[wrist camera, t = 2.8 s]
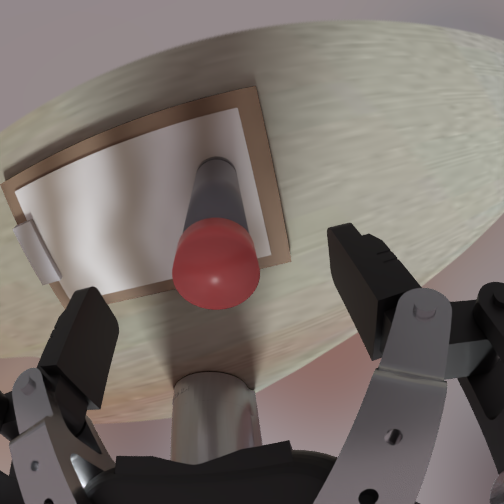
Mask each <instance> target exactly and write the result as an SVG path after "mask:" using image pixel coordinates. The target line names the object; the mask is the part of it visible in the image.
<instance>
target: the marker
mask: <svg viewBox="0 0 504 504" xmlns="http://www.w3.org/2000/svg"><path fill="white" fill-rule="evenodd" d="M172 278H173V282H174V285H175V287H176V289H177V291H178V292H179V293H180V295H181V296H182V297H183V298H184V299H186V300H187V301H188V302H190V303H192V304H193V305H196V306H198V307H201V308H205V309H212V310H220V309H227V308H231V307H234V306H236V305H238V304H240V303H242V302H244V301H245V300H246V299H248V298H249V297H250V296H251V295H252V293H253V292H254V291H255V289H256V287H257V285H258V282H259V278H260V269H259V264H258V259H257V255H256V250H255V246H254V242H253V240H252V237H251V236H250V234H249V230H248V225H247V221H246V216H245V211H244V206H243V201H242V197H241V192H240V187H239V182H238V177H237V173H236V169H235V167H234V165H233V164H232V163H231V162H230V161H229V160H228V159H226V158H223V157H218V156H215V157H210V158H208V159H206V160H204V161H203V162H202V163H201V164H200V165H199V167H198V169H197V173H196V177H195V181H194V185H193V189H192V193H191V197H190V202H189V206H188V211H187V215H186V220H185V224H184V229H183V233H182V235H181V237H180V239H179V241H178V245H177V249H176V254H175V258H174V263H173V268H172Z"/></svg>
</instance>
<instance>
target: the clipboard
mask: <svg viewBox="0 0 504 504" xmlns="http://www.w3.org/2000/svg"><path fill="white" fill-rule="evenodd" d="M215 156H218V157H223V158H226V159H228V160H229V161H230V162H231V163H232V164H233V165H234V167H235V169H236V173H237V177H238V182H239V187H240V192H241V197H242V201H243V206H244V211H245V216H246V221H247V225H248V230H249V234H250V236H251V237H252V240H253V242H254V246H255V250H256V255H257V259H258V264H259V269H263V268H267V267H271V266H275V265H279V264H283V263H287V262H291V256H290V251H289V245H288V239H287V234H286V229H285V223H284V218H283V213H282V207H281V202H280V197H279V192H278V187H277V182H276V177H275V172H274V167H273V162H272V157H271V153H270V148H269V143H268V139H267V134H266V129H265V125H264V120H263V116H262V111H261V107H260V102H259V98H258V94H257V89H256V86H252V87H247V88H243V89H238V90H234V91H229V92H225V93H221V94H217V95H213V96H209V97H205V98H202V99H198V100H194V101H191V102H187V103H184V104H181V105H177V106H174V107H171V108H168V109H164V110H161V111H158V112H155V113H152V114H149V115H147V116H144V117H141V118H138V119H135V120H133V121H130V122H127V123H125V124H122V125H119V126H117V127H114V128H112V129H109V130H107V131H104V132H102V133H100V134H97V135H95V136H93V137H90V138H88V139H86V140H83V141H81V142H79V143H77V144H75V145H73V146H70V147H68V148H66V149H64V150H62V151H60V152H58V153H56V154H54V155H52V156H50V157H48V158H46V159H44V160H42V161H40V162H38V163H37V164H35V165H33V166H31V167H29V168H27V169H26V170H24V171H22V172H20V173H19V174H17V175H15V176H13V177H12V178H10V179H8V180H7V181H5V182H4V183H2V184H0V185H1V187H2V190H3V192H4V195H5V197H6V200H7V202H8V204H9V207H10V209H11V211H12V214H13V216H14V218H15V220H16V222H17V224H18V225H16V226H15V227H14V228H13V231H14V233H15V235H16V237H17V239H18V241H19V243H20V245H21V247H22V249H23V251H24V253H25V255H26V257H27V259H28V260H29V262H30V264H31V266H32V268H33V269H34V271H35V273H36V275H37V276H38V278H39V280H40V281H41V283H42V285H45V284H50V286H51V288H52V289H53V291H54V293H55V294H56V296H57V297H58V299H59V301H60V302H61V304H62V305H63V307H64V308H65V309H66V307H67V305H68V303H69V301H70V299H71V297H72V295H73V293H74V292H75V291H76V290H80V289H84V288H88V287H92V286H94V287H96V288H97V289H98V290H99V292H100V293H101V295H102V297H103V298H104V300H105V302H106V303H107V304H110V303H115V302H119V301H124V300H129V299H133V298H138V297H142V296H147V295H151V294H156V293H160V292H164V291H169V290H173V289H176V287H175V285H174V282H173V278H172V268H173V263H174V258H175V254H176V249H177V245H178V241H179V239H180V237H181V235H182V233H183V229H184V224H185V220H186V215H187V211H188V206H189V202H190V197H191V193H192V189H193V185H194V181H195V177H196V173H197V169H198V167H199V165H200V164H201V163H202V162H203V161H204V160H206V159H208V158H210V157H215Z"/></svg>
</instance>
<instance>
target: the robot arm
mask: <svg viewBox="0 0 504 504" xmlns="http://www.w3.org/2000/svg"><path fill="white" fill-rule="evenodd" d="M327 237H328V247H329V257H330V268H331V274H332V278H333V281H334V284H335V286H336V288H337V290H338V292H339V294H340V296H341V298H342V300H343V302H344V304H345V306H346V308H347V310H348V312H349V314H350V316H351V318H352V320H353V322H354V324H355V326H356V328H357V330H358V332H359V334H360V336H361V339H362V341H363V343H364V345H365V347H366V349H367V351H368V353H369V355H370V358H371V360H372V361H373V360H376V359H379V358H382V359H381V362H380V365H379V367H378V368H376V369H375V371H374V374H373V376H372V378H371V381H370V384H369V387H368V389H367V392H366V395H365V397H364V399H363V402H362V404H361V407H360V410H359V412H358V414H357V417H356V419H355V421H354V424H353V426H352V428H351V430H350V433H349V435H348V437H347V439H346V442H345V444H344V446H343V448H342V450H341V453H340V454H339V456H338V458H337V457H334V456H331V455H328V454H324V453H320V452H315V451H306V450H293V449H292V447H291V444H290V441H289V440H288V441H283V442H278V443H273V444H268V445H262V438H261V431H260V425H259V417H258V410H257V403H256V395H255V391H253V390H250V389H248V387H247V386H246V384H245V383H244V382H243V381H242V380H240V379H238V378H237V377H235V376H232V375H229V374H224V373H219V372H201V373H195V374H192V375H188V376H186V377H184V378H182V379H181V380H180V381H178V382H177V384H176V385H175V388H174V397H173V412H172V429H171V453H170V454H171V455H170V460H165V459H162V458H157V457H153V456H117V457H116V463H115V462H114V461H113V460H112V458H111V457H110V455H109V454H108V452H107V450H106V448H105V446H104V445H103V443H102V441H101V439H100V437H99V435H98V433H97V431H96V430H95V427H94V425H93V423H92V421H91V419H90V418H89V417H88V416H87V415H86V412H87V410H95V409H101V404H102V400H103V395H104V391H105V386H106V382H107V378H108V373H109V369H110V365H111V361H112V357H113V353H114V350H115V346H116V342H117V339H118V335H119V326H118V322H117V320H116V318H115V316H114V314H113V313H112V311H111V310H110V308H109V306H108V305H107V303H106V302H105V300H104V298H103V297H102V295H101V293H100V292H99V290H98V289H97V288H96V287H94V286H92V287H88V288H84V289H80V290H76V291H75V292H74V293H73V295H72V297H71V299H70V301H69V303H68V305H67V307H66V309H65V311H64V312H63V313H62V314H61V315H60V317H59V318H58V321H57V323H56V325H55V327H54V328H55V329H54V330H53V331H52V333H51V336H50V337H51V338H49V340H48V342H47V344H46V347H45V349H44V351H43V354H42V356H41V358H40V361H39V363H38V366H37V368H30V369H28V370H26V371H24V372H23V373H22V374H21V375H20V376H19V377H18V378H17V380H16V382H15V383H14V386H13V389H12V391H11V392H9V393H6V394H3V393H2V392H1V391H0V434H2V435H3V436H4V437H6V438H7V439H8V440H9V441H10V443H9V448H10V452H11V457H12V463H11V468H10V474H9V476H8V475H6V474H5V473H3V472H2V471H0V504H420V503H417V502H416V498H417V496H418V493H419V491H420V488H421V485H422V482H423V479H424V476H425V474H426V471H427V468H428V465H429V462H430V458H431V455H432V451H433V448H434V444H435V441H436V437H437V433H438V430H439V426H440V422H441V417H442V413H443V408H444V403H445V398H446V393H447V381H444V380H445V379H453V378H458V381H459V383H460V385H461V387H462V389H463V391H464V393H465V395H466V397H467V399H468V401H469V403H470V405H471V408H472V410H473V412H474V414H475V416H476V419H477V421H478V423H479V425H480V428H481V430H482V432H483V435H484V437H485V439H486V442H487V444H488V447H489V450H490V452H491V455H492V457H493V460H494V463H495V465H496V468H497V471H498V474H499V476H498V477H497V478H496V480H495V482H494V484H493V486H492V489H491V495H490V503H491V504H504V283H500V282H491V283H487V284H485V285H484V286H483V287H482V288H481V289H480V291H479V294H478V297H477V300H469V301H458V302H449V300H448V299H447V298H446V297H445V296H444V295H443V294H441V293H440V292H438V291H436V290H433V289H429V288H422V287H421V286H420V285H419V284H418V282H417V281H416V280H415V279H414V277H413V276H412V275H411V274H410V273H409V271H408V270H407V269H406V268H405V266H404V265H403V264H402V263H401V262H400V261H399V260H397V257H396V256H395V255H394V253H393V252H391V251H390V249H389V248H388V247H387V245H386V244H385V243H384V242H383V241H382V240H380V239H379V238H377V237H375V236H373V235H371V234H366V235H361V234H360V233H359V232H358V230H357V229H356V228H355V227H354V226H353V224H352V223H346V224H342V225H338V226H334V227H330V228H328V229H327ZM500 359H501V360H500Z"/></svg>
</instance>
